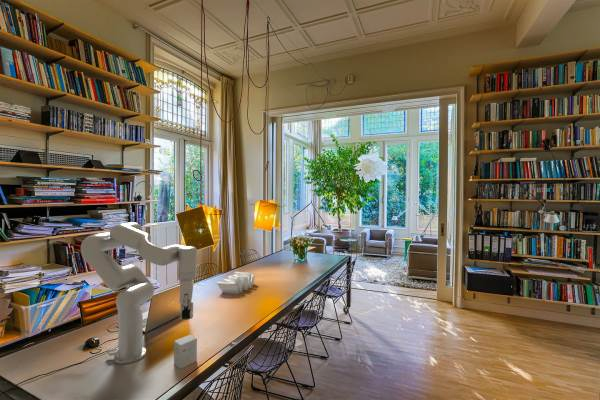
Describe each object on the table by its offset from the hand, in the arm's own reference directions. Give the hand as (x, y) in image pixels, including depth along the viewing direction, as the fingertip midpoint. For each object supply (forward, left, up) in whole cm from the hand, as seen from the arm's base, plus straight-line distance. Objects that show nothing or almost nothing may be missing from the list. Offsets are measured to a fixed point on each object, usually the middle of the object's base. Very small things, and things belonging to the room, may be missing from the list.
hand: (186, 315), depth 127 cm
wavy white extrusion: (+33, +92, -22) cm, 100 cm away
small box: (0, 0, -21) cm, 21 cm away
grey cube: (0, 0, -1) cm, 1 cm away
